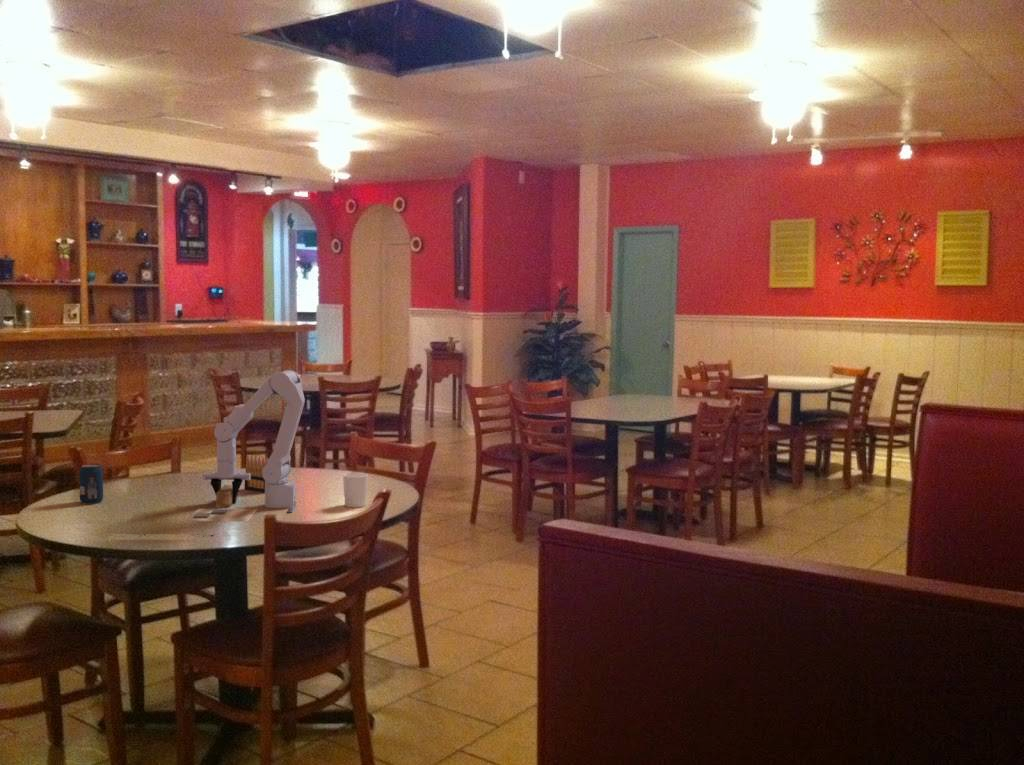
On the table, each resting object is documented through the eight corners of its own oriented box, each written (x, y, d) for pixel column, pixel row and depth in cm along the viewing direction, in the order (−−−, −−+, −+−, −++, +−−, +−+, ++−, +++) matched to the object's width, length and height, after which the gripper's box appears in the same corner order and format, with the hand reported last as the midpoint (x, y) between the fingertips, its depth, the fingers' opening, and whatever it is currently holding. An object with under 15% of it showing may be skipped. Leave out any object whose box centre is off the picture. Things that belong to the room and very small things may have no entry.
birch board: (257, 513, 312) (257, 508, 312) (248, 526, 296) (247, 521, 296) (198, 513, 311) (198, 508, 311) (185, 525, 295) (185, 520, 295)
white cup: (371, 503, 329) (371, 473, 328) (361, 508, 321) (361, 478, 320) (349, 501, 331) (349, 471, 330) (339, 507, 324) (339, 476, 323)
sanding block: (237, 503, 325) (237, 485, 325) (229, 512, 314) (229, 493, 313) (224, 503, 325) (224, 485, 325) (216, 512, 313) (216, 493, 313)
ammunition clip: (271, 492, 344) (271, 457, 342) (267, 493, 342) (267, 458, 341) (248, 488, 349) (247, 454, 348) (244, 489, 347) (244, 454, 346)
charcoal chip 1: (210, 515, 303) (210, 513, 303) (207, 518, 299) (207, 516, 299) (196, 515, 302) (196, 513, 302) (193, 518, 298) (193, 516, 298)
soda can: (94, 498, 328) (93, 462, 327) (108, 501, 324) (107, 464, 323) (75, 502, 322) (74, 465, 321) (89, 505, 318) (88, 468, 317)
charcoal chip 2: (227, 511, 308) (227, 509, 308) (224, 514, 304) (224, 512, 304) (214, 511, 308) (214, 509, 308) (211, 514, 304) (211, 512, 304)
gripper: (252, 457, 322) (252, 499, 324) (206, 457, 321) (206, 499, 323) (248, 461, 315) (248, 504, 317) (200, 461, 314) (201, 504, 316)
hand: (226, 502), depth 319 cm, fingers closed on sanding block, 4 cm apart
